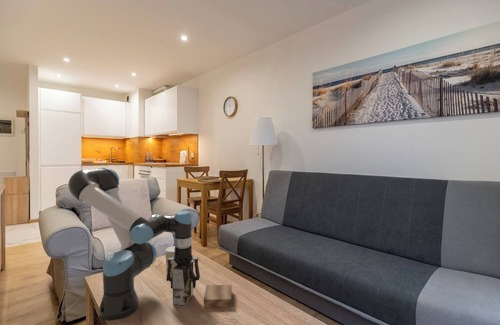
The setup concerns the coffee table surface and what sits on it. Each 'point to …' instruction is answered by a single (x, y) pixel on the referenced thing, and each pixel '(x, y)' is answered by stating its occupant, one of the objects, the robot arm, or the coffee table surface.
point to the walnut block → (217, 296)
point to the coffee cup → (170, 256)
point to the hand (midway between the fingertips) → (183, 294)
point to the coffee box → (182, 284)
